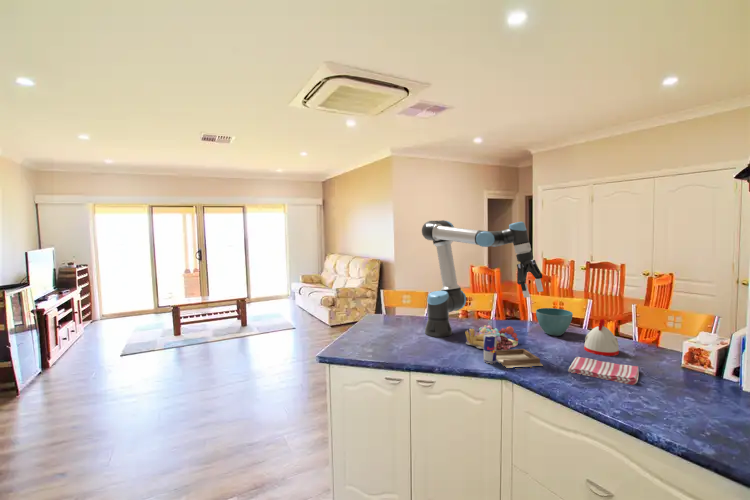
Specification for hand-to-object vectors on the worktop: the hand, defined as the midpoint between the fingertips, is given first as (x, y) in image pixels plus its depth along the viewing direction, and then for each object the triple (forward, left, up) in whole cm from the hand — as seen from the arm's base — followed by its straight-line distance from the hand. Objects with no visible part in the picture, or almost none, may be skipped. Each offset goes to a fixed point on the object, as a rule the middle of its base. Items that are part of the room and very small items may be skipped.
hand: (533, 294), depth 182 cm
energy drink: (+18, -30, -26) cm, 44 cm away
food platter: (-7, -19, -26) cm, 34 cm away
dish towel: (+36, +10, -26) cm, 45 cm away
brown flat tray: (+18, -19, -26) cm, 37 cm away
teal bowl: (-17, +22, -26) cm, 38 cm away
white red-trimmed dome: (+13, +27, -26) cm, 39 cm away
